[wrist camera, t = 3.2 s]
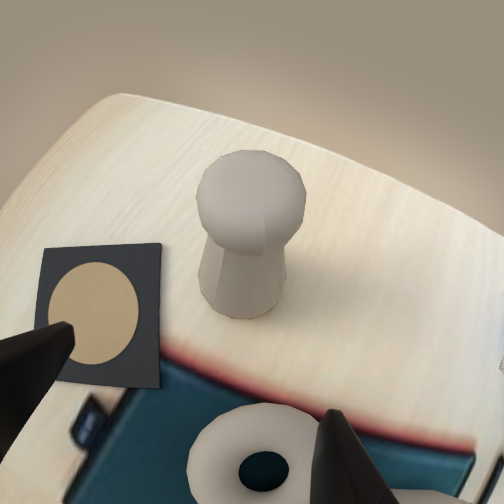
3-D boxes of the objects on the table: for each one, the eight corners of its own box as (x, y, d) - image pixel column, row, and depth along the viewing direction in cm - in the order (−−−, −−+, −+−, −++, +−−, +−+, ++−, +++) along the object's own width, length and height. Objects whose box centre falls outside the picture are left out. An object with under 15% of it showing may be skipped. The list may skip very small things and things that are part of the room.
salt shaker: (187, 302, 22) (141, 209, 10) (224, 238, 24) (220, 110, 13) (260, 338, 22) (297, 284, 10) (292, 271, 24) (348, 161, 12)
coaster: (161, 388, 20) (159, 388, 19) (34, 376, 19) (31, 376, 18) (161, 244, 24) (160, 241, 23) (46, 249, 23) (43, 247, 23)
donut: (347, 418, 20) (215, 382, 20) (366, 423, 16) (213, 383, 17) (302, 530, 16) (172, 499, 16) (314, 549, 13) (164, 517, 13)
